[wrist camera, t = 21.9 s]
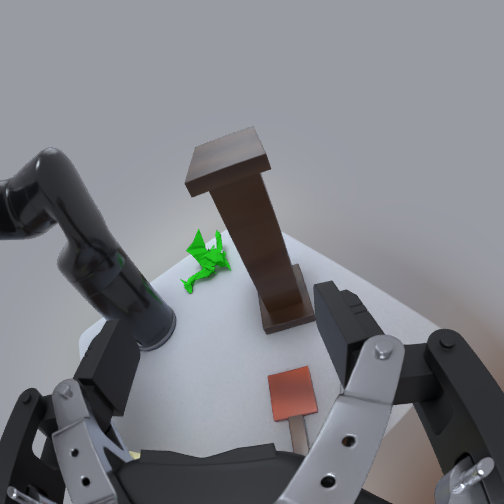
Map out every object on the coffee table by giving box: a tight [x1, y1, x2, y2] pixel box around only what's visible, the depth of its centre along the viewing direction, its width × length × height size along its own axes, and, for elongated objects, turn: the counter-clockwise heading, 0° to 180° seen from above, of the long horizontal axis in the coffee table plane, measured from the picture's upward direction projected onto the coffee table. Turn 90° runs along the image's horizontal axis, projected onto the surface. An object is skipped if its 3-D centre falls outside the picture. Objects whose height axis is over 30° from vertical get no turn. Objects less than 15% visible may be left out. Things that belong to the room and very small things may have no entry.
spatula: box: [268, 366, 318, 456], centre depth 23 cm, size 18×5×1 cm, turn 5°
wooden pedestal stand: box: [185, 126, 316, 334], centre depth 32 cm, size 10×7×24 cm
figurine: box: [180, 229, 231, 294], centre depth 49 cm, size 6×12×9 cm
